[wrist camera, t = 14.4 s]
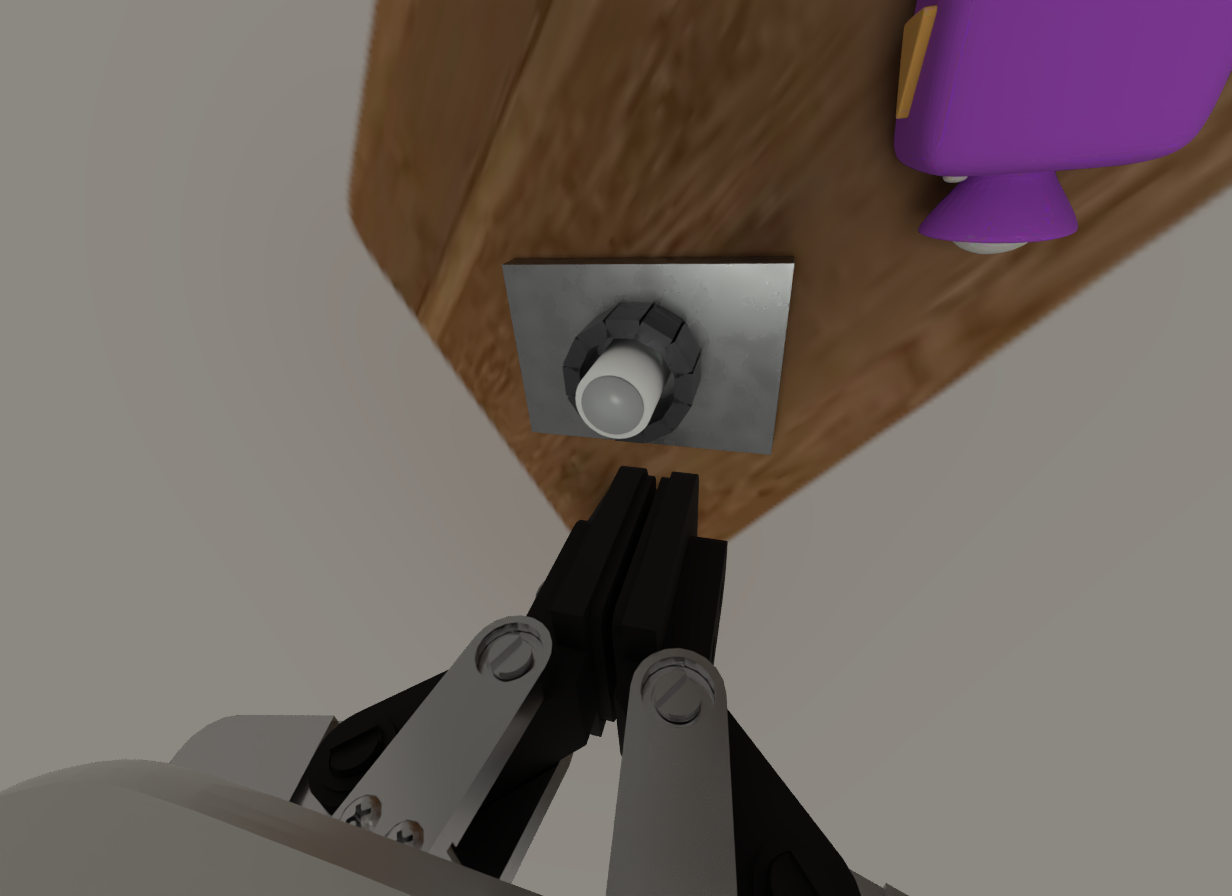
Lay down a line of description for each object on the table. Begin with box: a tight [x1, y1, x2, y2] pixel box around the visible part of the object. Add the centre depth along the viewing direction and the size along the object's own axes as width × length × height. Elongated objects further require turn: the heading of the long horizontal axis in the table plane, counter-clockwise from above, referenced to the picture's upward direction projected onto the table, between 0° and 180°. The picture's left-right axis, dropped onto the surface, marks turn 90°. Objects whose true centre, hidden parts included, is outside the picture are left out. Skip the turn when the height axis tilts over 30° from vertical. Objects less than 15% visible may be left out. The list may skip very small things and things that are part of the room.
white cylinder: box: [575, 338, 671, 439], centre depth 34 cm, size 5×5×7 cm
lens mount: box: [502, 256, 794, 455], centre depth 36 cm, size 14×20×6 cm
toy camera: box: [894, 0, 1232, 254], centre depth 21 cm, size 11×14×10 cm
